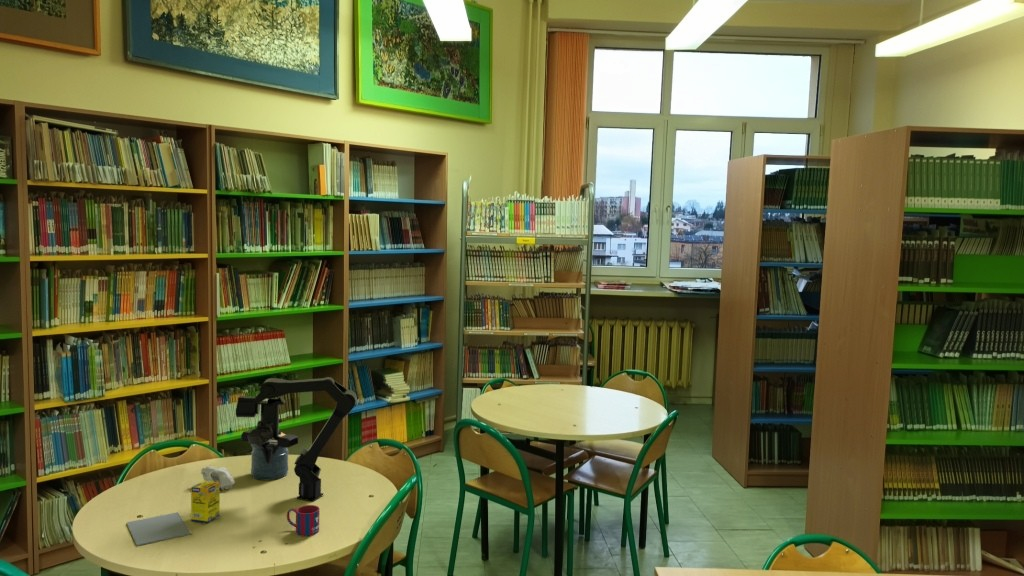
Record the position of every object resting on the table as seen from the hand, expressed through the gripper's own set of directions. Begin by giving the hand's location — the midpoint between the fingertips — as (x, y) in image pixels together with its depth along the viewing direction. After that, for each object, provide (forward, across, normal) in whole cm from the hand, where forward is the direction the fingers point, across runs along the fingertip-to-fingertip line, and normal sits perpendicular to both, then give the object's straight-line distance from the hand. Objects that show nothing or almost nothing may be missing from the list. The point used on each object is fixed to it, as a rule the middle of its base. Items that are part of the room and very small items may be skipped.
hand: (268, 463), depth 224 cm
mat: (+12, -14, -32) cm, 37 cm away
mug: (+12, +25, -16) cm, 33 cm away
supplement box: (+12, -7, -21) cm, 25 cm away
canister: (+12, -14, +19) cm, 27 cm away
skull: (+12, -22, +2) cm, 25 cm away
